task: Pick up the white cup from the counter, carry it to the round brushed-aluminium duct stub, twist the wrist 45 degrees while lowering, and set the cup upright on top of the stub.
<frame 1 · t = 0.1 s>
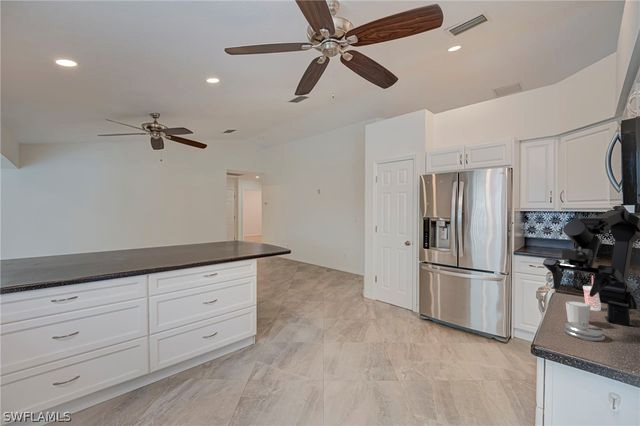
hand: (572, 292, 91), 15 cm above the counter, tool tilted 30°, fingers open, 9 cm apart
white cup: (578, 323, 104), on the counter
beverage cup: (592, 309, 118), on the counter
duct stub: (583, 334, 93), on the counter
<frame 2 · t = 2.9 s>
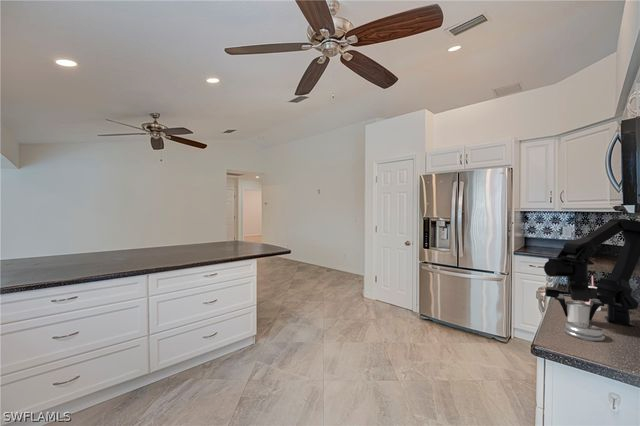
hand: (578, 318, 104), 2 cm above the counter, tool pointing down, fingers closed on white cup, 6 cm apart
white cup: (578, 323, 104), on the counter, touching gripper
everything else where it was.
when the fingers open (5 cm above the counter, at t = 7.7 s): white cup stays where it is, resting on duct stub.
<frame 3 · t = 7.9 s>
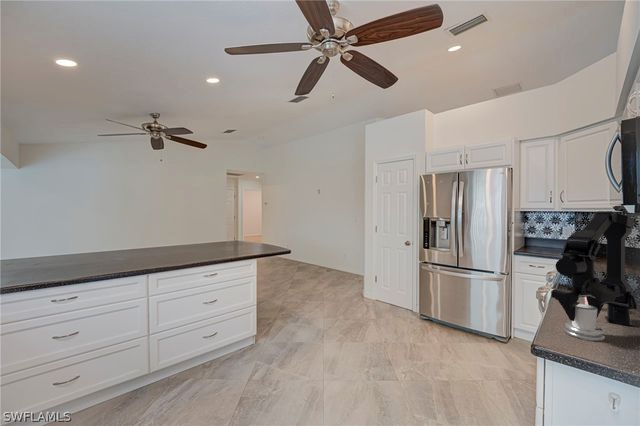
hand: (583, 319, 93), 5 cm above the counter, tool pointing down, fingers open, 8 cm apart
white cup: (583, 327, 93), point 2 cm above the counter, touching duct stub
everything else where it was.
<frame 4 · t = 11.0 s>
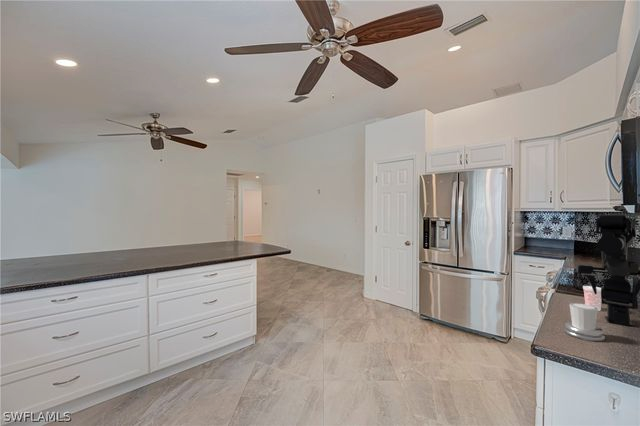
hand: (614, 296, 96), 12 cm above the counter, tool pointing down, fingers open, 9 cm apart
nothing on the counter moved.
at the end: white cup 0.1 cm off-centre on the duct stub, point 2.4 cm above the duct stub's base; white cup tilted 0°; the gripper is holding nothing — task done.
